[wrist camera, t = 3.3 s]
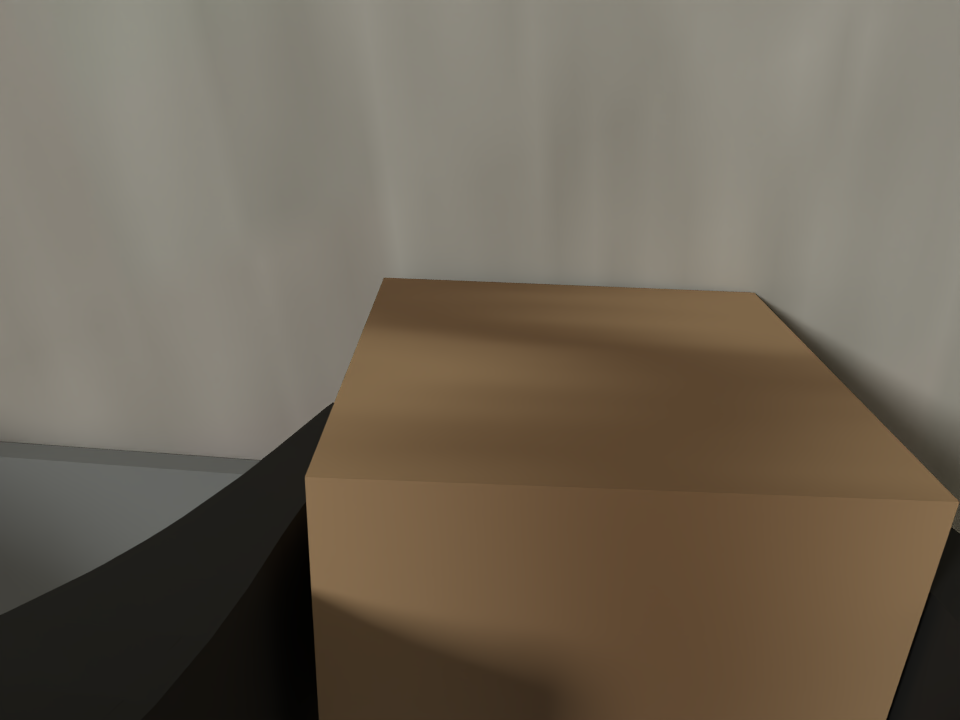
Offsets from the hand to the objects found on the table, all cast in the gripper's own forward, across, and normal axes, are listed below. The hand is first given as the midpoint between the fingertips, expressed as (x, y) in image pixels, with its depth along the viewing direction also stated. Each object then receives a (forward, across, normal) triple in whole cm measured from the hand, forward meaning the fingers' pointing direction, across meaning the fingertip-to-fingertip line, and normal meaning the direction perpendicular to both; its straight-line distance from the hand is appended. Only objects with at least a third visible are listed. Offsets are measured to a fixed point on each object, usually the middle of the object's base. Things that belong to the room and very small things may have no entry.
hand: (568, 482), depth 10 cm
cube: (+1, 0, 0) cm, 1 cm away
